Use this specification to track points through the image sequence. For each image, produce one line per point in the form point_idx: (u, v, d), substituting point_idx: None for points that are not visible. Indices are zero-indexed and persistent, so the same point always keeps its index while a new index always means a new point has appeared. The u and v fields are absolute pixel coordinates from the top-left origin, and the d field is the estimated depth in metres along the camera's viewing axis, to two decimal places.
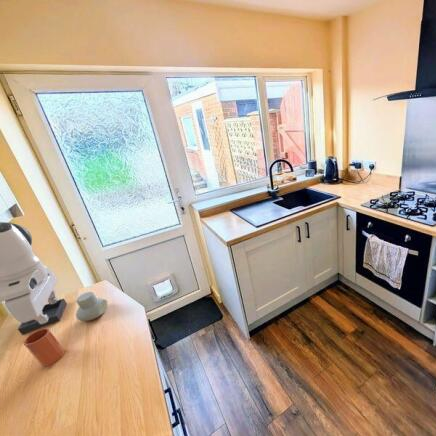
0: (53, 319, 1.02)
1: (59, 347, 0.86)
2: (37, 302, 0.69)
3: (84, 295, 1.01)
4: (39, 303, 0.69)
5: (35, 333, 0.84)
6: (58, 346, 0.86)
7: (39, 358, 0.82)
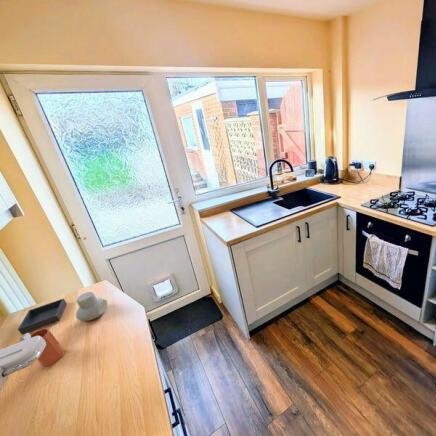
0: (53, 319, 1.02)
1: (59, 347, 0.86)
2: None
3: (84, 295, 1.01)
4: None
5: (35, 333, 0.84)
6: (58, 346, 0.86)
7: (39, 358, 0.82)
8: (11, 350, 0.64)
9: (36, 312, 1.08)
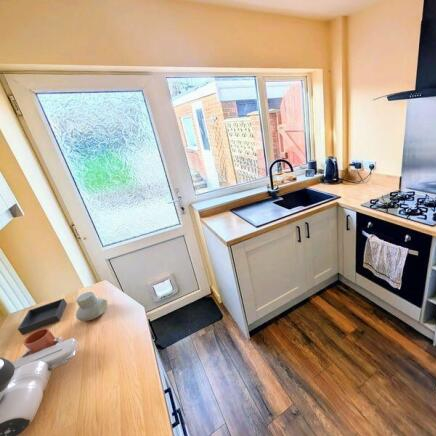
0: (53, 319, 1.02)
1: None
2: None
3: (84, 295, 1.01)
4: None
5: (35, 333, 0.84)
6: None
7: None
8: (53, 349, 0.80)
9: (36, 312, 1.08)
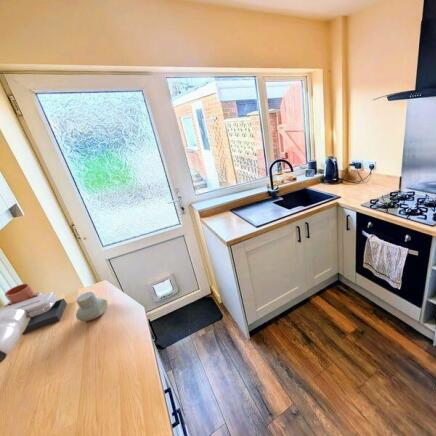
0: (53, 319, 1.02)
1: None
2: None
3: (84, 295, 1.01)
4: None
5: (16, 287, 0.91)
6: None
7: None
8: (32, 300, 0.87)
9: None
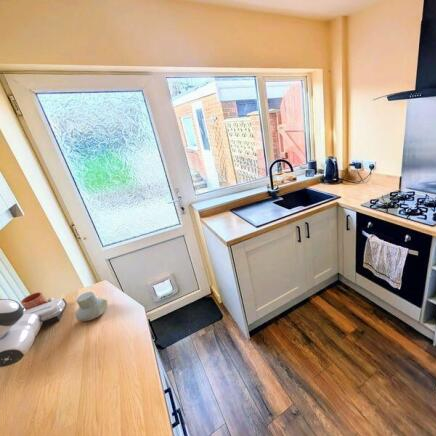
0: (53, 319, 1.02)
1: None
2: None
3: (84, 295, 1.01)
4: None
5: (30, 296, 1.03)
6: None
7: None
8: (44, 306, 0.99)
9: None
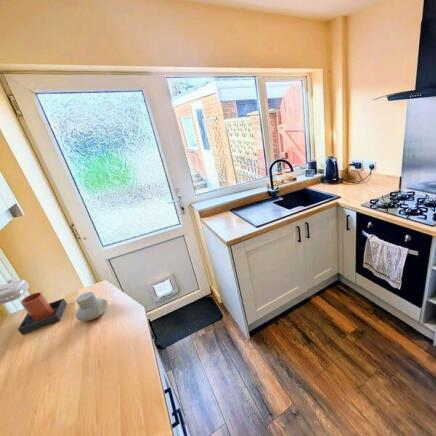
0: (53, 319, 1.02)
1: (50, 308, 1.05)
2: None
3: (84, 295, 1.01)
4: None
5: (30, 296, 1.03)
6: (49, 307, 1.05)
7: (33, 316, 1.01)
8: (1, 288, 0.80)
9: None
